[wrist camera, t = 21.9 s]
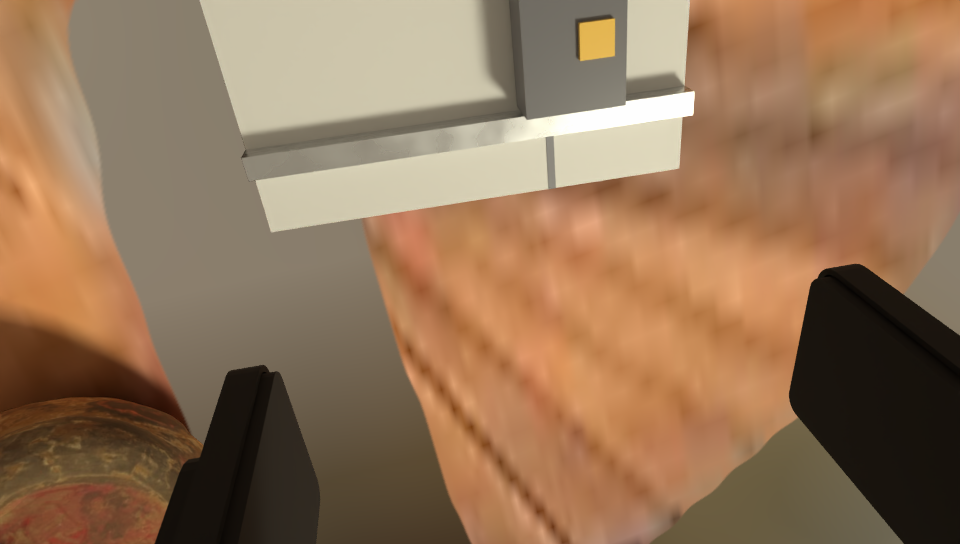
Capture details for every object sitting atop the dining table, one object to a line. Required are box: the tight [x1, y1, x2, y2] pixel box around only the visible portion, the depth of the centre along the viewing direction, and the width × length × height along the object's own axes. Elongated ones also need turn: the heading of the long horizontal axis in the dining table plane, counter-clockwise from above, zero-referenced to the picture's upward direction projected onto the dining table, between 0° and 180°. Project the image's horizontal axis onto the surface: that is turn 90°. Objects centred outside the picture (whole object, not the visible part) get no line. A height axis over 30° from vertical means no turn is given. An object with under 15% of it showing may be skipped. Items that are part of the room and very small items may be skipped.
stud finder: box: [509, 0, 628, 120], centre depth 36 cm, size 8×6×3 cm
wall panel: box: [199, 0, 695, 232], centre depth 36 cm, size 24×28×4 cm
